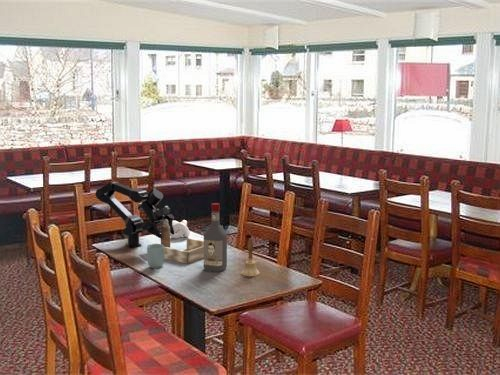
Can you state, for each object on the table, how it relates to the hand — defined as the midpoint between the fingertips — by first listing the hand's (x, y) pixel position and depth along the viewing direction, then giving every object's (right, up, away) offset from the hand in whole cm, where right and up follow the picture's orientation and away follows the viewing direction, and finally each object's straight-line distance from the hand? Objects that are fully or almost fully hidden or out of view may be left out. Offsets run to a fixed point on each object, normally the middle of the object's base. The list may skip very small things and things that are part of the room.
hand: (167, 236), depth 302 cm
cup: (-2, -13, -22) cm, 26 cm away
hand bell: (+40, -14, -29) cm, 52 cm away
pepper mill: (-1, -8, +2) cm, 9 cm away
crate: (+10, -10, -5) cm, 15 cm away
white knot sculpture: (+2, -3, +32) cm, 32 cm away
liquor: (+25, -13, -23) cm, 36 cm away
